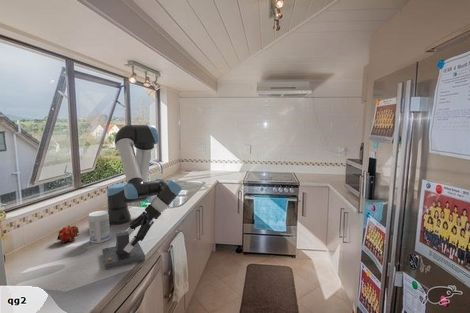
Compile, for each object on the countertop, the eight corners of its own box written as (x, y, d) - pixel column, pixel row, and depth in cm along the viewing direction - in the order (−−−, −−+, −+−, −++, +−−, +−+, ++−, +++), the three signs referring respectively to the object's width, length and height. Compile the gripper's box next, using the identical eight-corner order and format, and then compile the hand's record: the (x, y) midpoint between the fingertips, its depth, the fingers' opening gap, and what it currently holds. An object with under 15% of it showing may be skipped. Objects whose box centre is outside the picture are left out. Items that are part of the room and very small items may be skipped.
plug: (116, 256, 121) (115, 233, 120) (128, 254, 124) (127, 231, 123) (118, 260, 118) (117, 236, 117) (129, 257, 120) (129, 234, 119)
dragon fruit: (81, 238, 144) (60, 251, 134) (70, 229, 146) (49, 240, 135) (85, 228, 141) (65, 240, 130) (74, 218, 142) (53, 229, 131)
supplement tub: (110, 235, 146) (108, 209, 144) (110, 241, 137) (108, 214, 136) (90, 238, 141) (88, 211, 140) (89, 245, 133) (87, 217, 131)
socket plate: (102, 254, 123) (102, 247, 123) (138, 246, 132) (137, 240, 131) (105, 269, 110) (105, 262, 109) (145, 260, 118) (144, 253, 118)
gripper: (169, 220, 117) (135, 261, 111) (155, 206, 138) (126, 239, 132) (156, 210, 114) (120, 251, 108) (144, 197, 135) (114, 231, 129)
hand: (123, 245), depth 120 cm, fingers open, 13 cm apart
